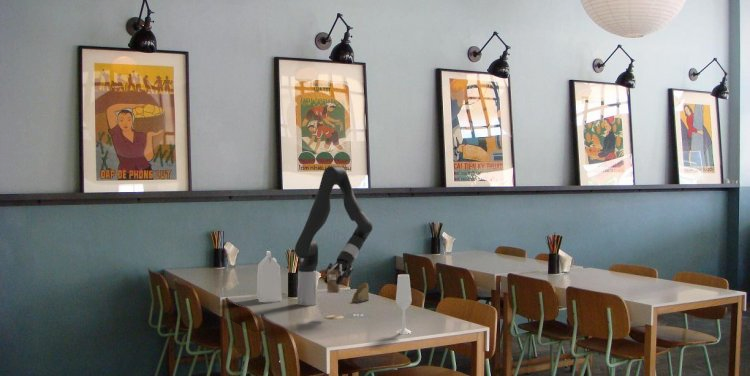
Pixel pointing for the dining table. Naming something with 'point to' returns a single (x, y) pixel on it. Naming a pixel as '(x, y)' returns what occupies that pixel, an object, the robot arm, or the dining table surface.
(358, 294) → the rock
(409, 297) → the champagne flute
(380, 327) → the dining table surface
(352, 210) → the robot arm
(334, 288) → the walnut block
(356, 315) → the blue-gray tile
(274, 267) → the milk
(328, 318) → the coaster
